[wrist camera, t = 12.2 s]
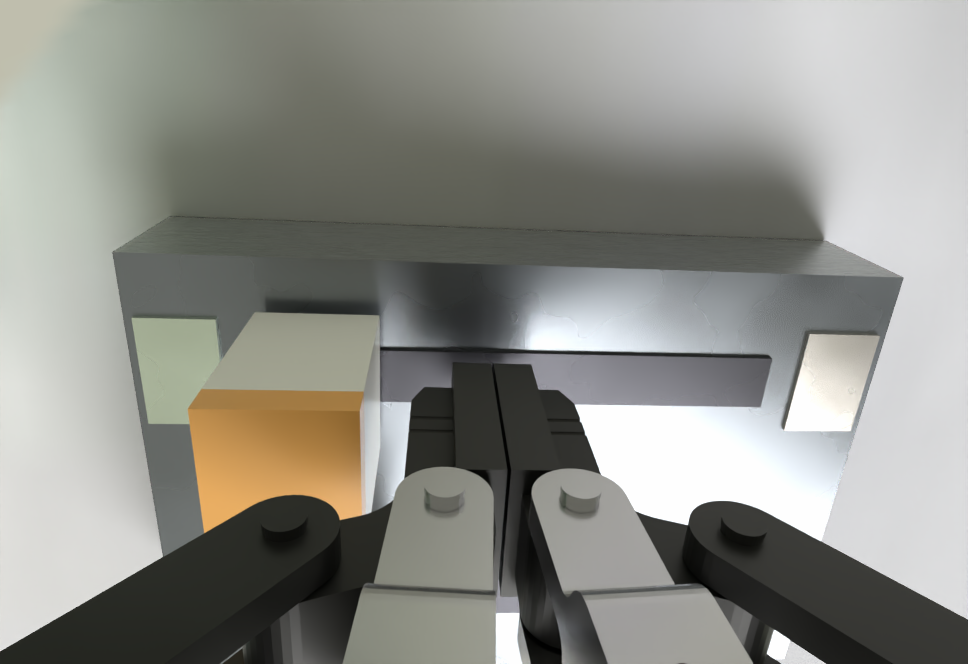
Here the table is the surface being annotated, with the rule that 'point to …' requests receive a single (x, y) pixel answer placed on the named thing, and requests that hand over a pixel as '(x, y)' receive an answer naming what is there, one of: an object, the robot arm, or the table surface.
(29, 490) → the table surface
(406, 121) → the table surface
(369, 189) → the table surface
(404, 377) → the panel
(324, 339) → the block
